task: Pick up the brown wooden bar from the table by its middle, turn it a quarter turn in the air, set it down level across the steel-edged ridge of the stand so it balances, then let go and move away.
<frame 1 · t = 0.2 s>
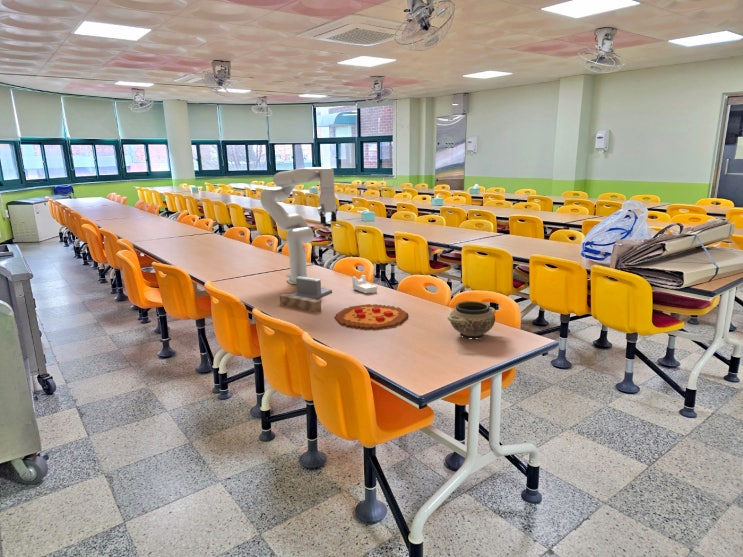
hand: (328, 222, 265), 37 cm above the table, tool pointing down, fingers open, 9 cm apart
pizza: (371, 318, 222), on the table
balance stand: (309, 295, 258), on the table
ceramic bowl: (471, 336, 197), on the table
brown wooden bar: (300, 307, 238), on the table
bracket: (364, 291, 265), on the table
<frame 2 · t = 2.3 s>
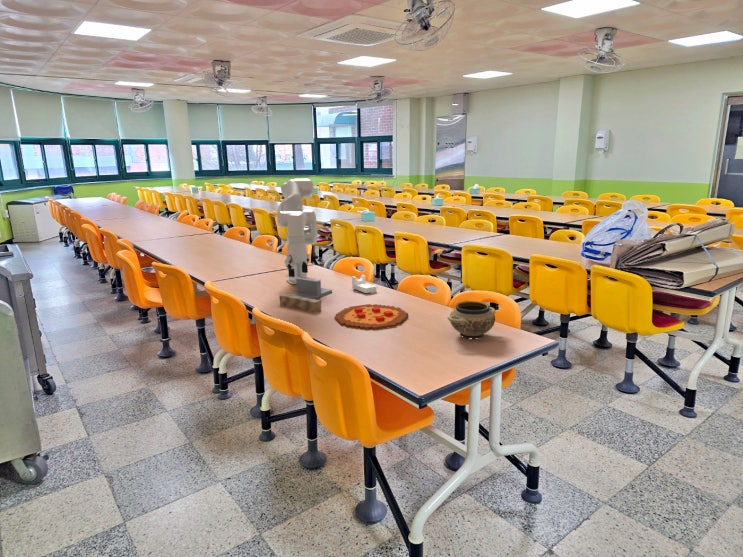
hand: (298, 274, 234), 16 cm above the table, tool pointing down, fingers open, 9 cm apart
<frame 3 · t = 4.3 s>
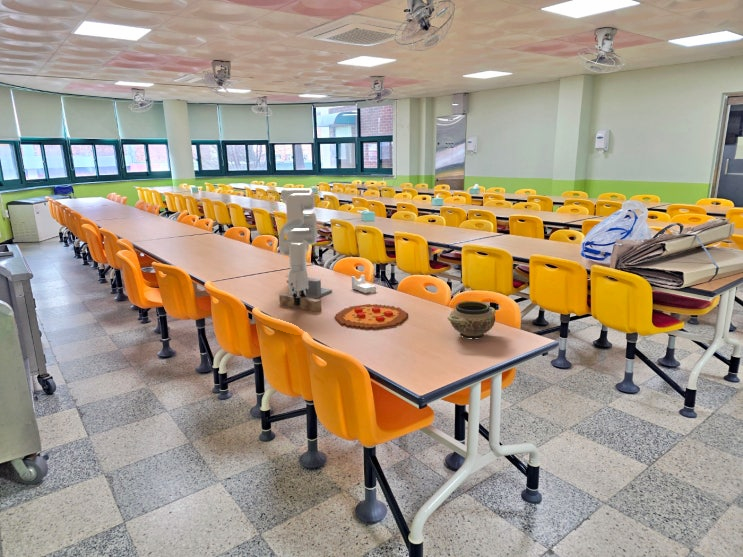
hand: (300, 303, 238), 2 cm above the table, tool pointing down, fingers closed on brown wooden bar, 3 cm apart
brown wooden bar: (300, 307, 238), on the table, touching gripper
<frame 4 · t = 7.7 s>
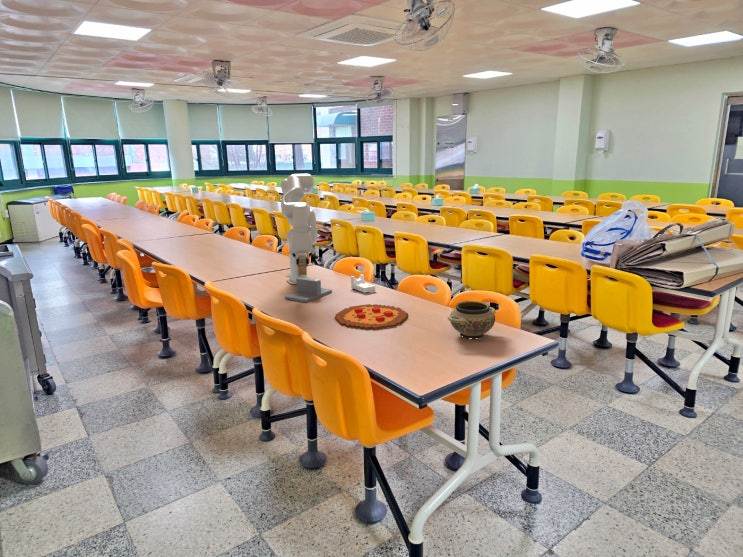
hand: (302, 265, 244), 19 cm above the table, tool pointing down, fingers closed on brown wooden bar, 3 cm apart
brown wooden bar: (303, 269, 244), point 17 cm above the table, touching gripper
when the fingers open (12 cm above the table, at t = 11.3 s): brown wooden bar stays where it is, resting on balance stand.
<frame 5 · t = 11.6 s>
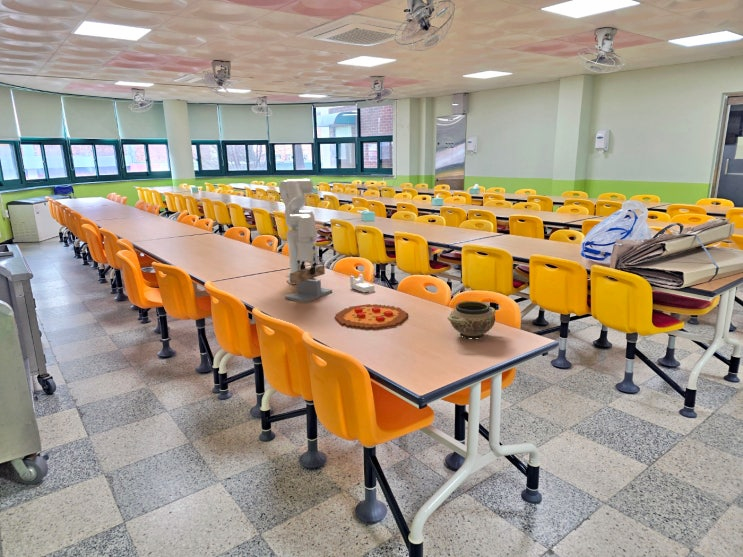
hand: (308, 273, 255), 12 cm above the table, tool pointing down, fingers open, 6 cm apart
brown wooden bar: (308, 278, 255), point 9 cm above the table, touching balance stand
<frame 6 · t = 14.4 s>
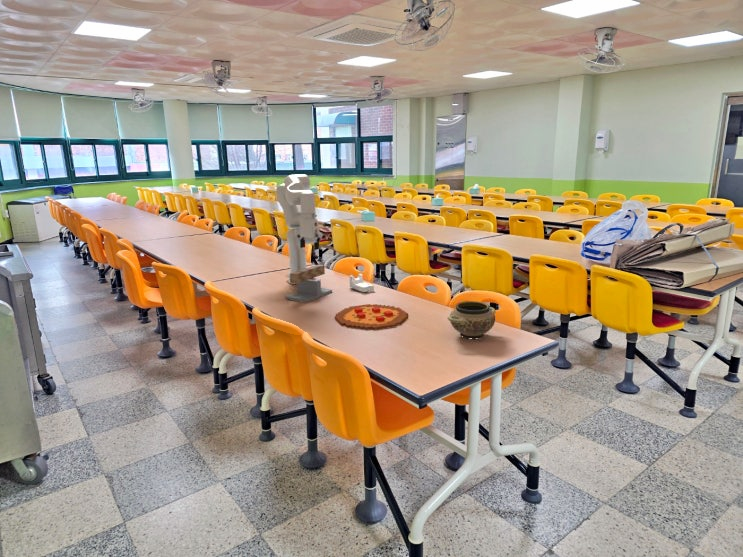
hand: (309, 248, 255), 25 cm above the table, tool pointing down, fingers open, 9 cm apart
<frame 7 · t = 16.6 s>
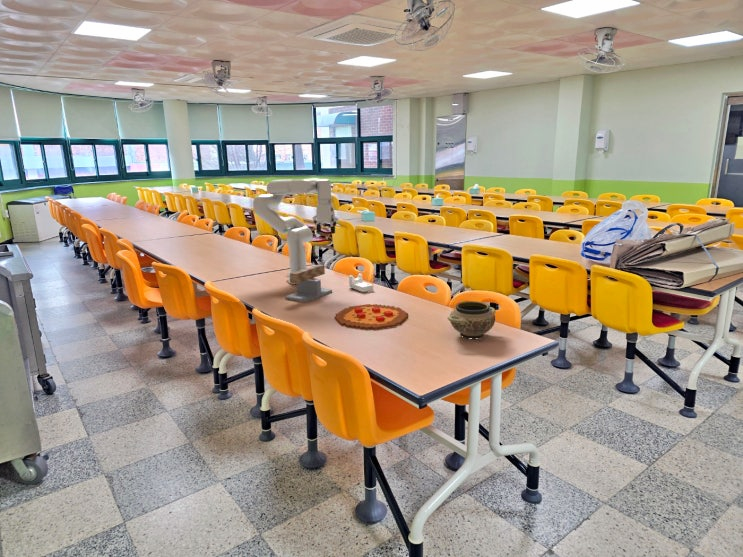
hand: (325, 232, 270), 30 cm above the table, tool pointing down, fingers open, 9 cm apart
at the end: brown wooden bar 0.1 cm off-centre on the balance stand, point 9.5 cm above the balance stand's base; brown wooden bar tilted 0°; the gripper is holding nothing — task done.
